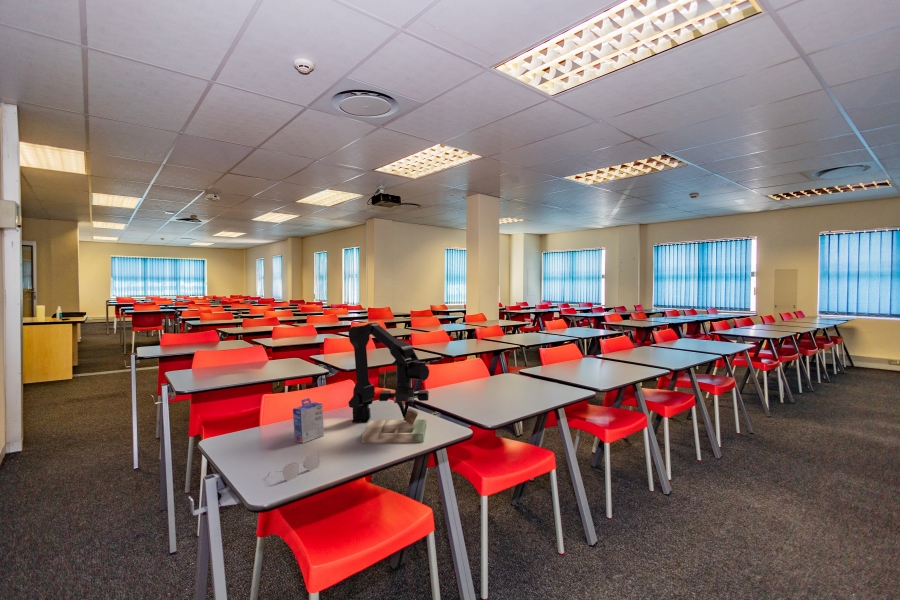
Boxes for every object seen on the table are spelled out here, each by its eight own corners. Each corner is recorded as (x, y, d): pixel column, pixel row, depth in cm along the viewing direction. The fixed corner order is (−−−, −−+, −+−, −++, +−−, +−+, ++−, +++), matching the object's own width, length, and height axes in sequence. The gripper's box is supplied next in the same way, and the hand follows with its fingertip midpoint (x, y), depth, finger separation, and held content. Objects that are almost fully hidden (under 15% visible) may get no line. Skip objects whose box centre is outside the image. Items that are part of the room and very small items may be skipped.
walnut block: (403, 420, 161) (407, 410, 161) (404, 416, 165) (409, 407, 165) (412, 424, 161) (417, 415, 161) (413, 421, 165) (418, 412, 165)
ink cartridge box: (315, 432, 163) (314, 395, 163) (324, 435, 160) (323, 397, 159) (293, 440, 155) (291, 401, 154) (302, 443, 152) (301, 403, 151)
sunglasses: (283, 484, 121) (280, 467, 121) (266, 482, 126) (264, 465, 126) (322, 467, 132) (320, 451, 133) (306, 465, 137) (304, 450, 138)
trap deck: (362, 443, 151) (361, 434, 151) (370, 428, 167) (370, 420, 167) (423, 441, 151) (423, 433, 151) (426, 426, 167) (426, 419, 167)
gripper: (375, 382, 154) (376, 424, 155) (426, 381, 154) (427, 424, 155) (381, 375, 166) (381, 415, 166) (428, 375, 165) (429, 415, 166)
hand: (404, 417), depth 163 cm, fingers closed, pressing on walnut block
